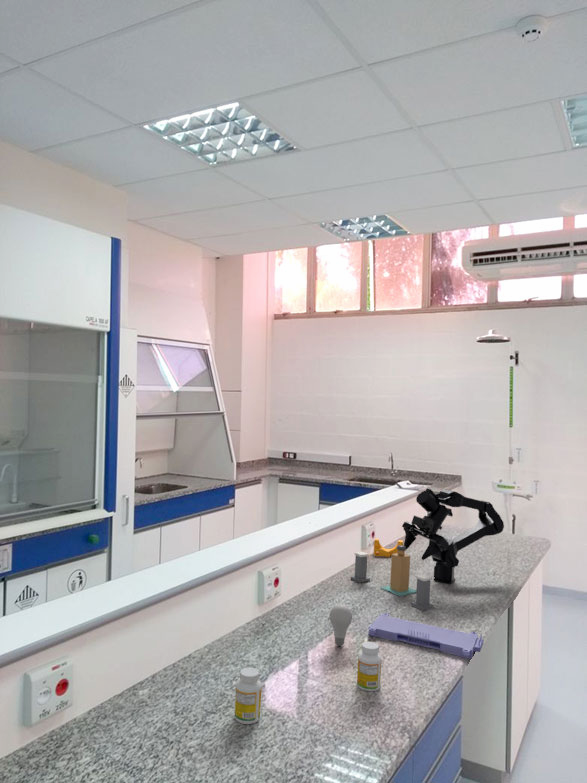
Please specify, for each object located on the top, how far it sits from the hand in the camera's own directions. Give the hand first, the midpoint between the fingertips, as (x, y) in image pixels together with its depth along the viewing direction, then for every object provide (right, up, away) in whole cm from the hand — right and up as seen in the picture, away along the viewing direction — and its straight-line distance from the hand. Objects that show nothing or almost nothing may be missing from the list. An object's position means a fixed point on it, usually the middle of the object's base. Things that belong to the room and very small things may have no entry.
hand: (412, 554), depth 216 cm
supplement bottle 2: (-25, -10, -76) cm, 81 cm away
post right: (-19, -10, +3) cm, 21 cm away
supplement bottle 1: (-53, -9, -91) cm, 106 cm away
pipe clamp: (-3, -11, +37) cm, 39 cm away
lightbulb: (-31, -10, -54) cm, 63 cm away
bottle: (-6, -10, -7) cm, 14 cm away
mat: (-6, -11, -7) cm, 14 cm away
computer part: (-6, -11, -48) cm, 49 cm away
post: (-1, -11, -22) cm, 24 cm away
